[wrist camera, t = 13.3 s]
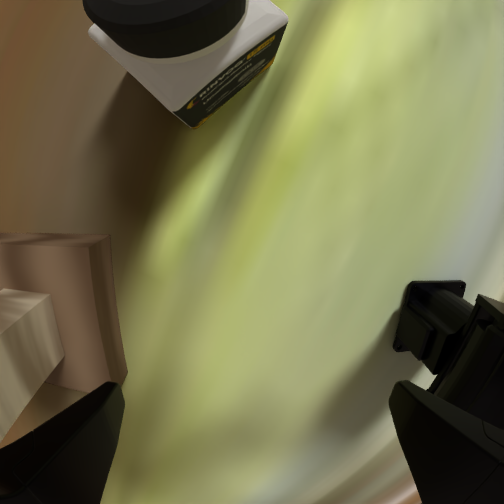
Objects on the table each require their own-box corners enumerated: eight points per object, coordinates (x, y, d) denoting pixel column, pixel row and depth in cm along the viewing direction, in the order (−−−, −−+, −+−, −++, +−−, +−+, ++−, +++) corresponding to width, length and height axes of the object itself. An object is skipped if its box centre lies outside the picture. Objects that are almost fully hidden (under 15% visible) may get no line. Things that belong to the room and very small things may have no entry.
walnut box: (112, 233, 20) (88, 247, 17) (129, 368, 24) (115, 398, 20) (1, 231, 20) (-28, 242, 16) (26, 349, 23) (6, 370, 19)
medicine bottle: (194, 132, 18) (135, 85, 7) (127, 67, 17) (32, -8, 5) (275, 63, 17) (318, -42, 6) (204, 3, 16) (180, -112, 4)
